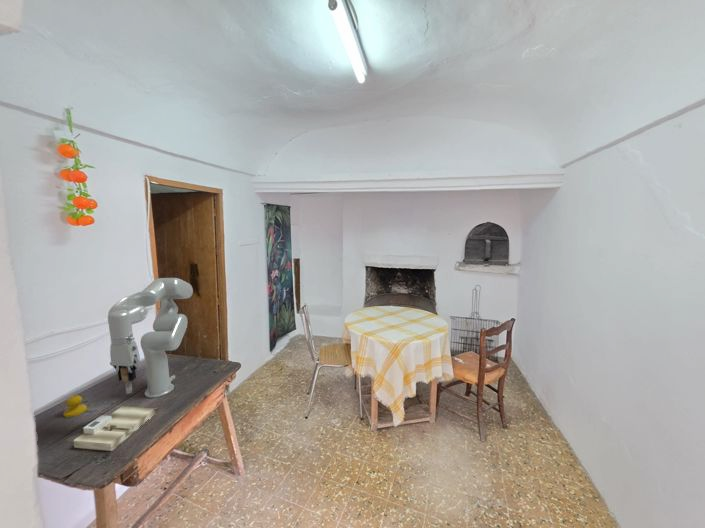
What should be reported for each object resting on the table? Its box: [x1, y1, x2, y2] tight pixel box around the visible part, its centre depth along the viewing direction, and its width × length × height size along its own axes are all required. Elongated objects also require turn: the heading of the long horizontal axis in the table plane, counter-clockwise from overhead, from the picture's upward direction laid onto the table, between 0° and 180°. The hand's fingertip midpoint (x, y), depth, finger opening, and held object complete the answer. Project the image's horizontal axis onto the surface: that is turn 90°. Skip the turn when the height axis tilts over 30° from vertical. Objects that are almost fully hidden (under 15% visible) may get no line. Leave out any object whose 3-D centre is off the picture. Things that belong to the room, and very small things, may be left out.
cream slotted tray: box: [72, 405, 156, 452], centre depth 129 cm, size 22×16×3 cm
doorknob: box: [63, 394, 88, 418], centre depth 140 cm, size 8×8×8 cm
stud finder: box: [82, 414, 112, 434], centre depth 126 cm, size 8×4×2 cm, turn 173°
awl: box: [120, 366, 133, 395], centre depth 133 cm, size 4×4×12 cm
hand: (127, 379), depth 133 cm, fingers closed on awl, 4 cm apart
